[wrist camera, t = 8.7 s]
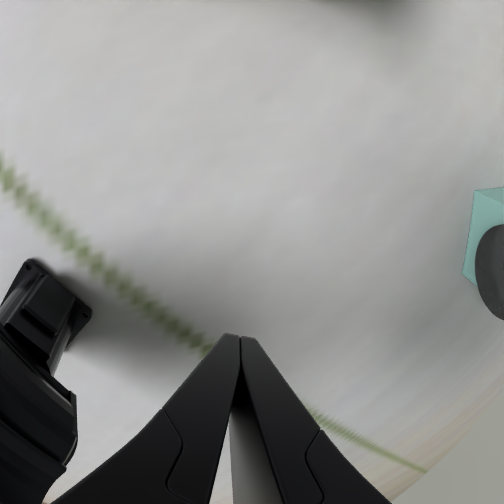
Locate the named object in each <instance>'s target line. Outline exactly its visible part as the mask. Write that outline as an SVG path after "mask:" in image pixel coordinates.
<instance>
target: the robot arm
mask: <svg viewBox="0 0 504 504" xmlns="http://www.w3.org/2000/svg"><path fill="white" fill-rule="evenodd" d="M28 264H29V265H30V266H31V268H30V267H29V266H28ZM84 312H86V313H87V314H88V315H86V314H85V313H84ZM92 315H93V312H92V310H91V309H90V308H89V307H88V306H87V305H85V304H84V303H83V302H82V301H80V300H79V299H78V298H77V297H75V296H74V295H73V294H72V293H71V292H69V291H68V290H67V289H66V288H64V287H63V286H62V285H61V284H60V283H59V282H57V281H56V280H55V279H54V278H53V277H52V276H50V275H49V274H48V273H47V272H46V271H45V270H44V269H42V268H41V267H40V266H39V265H38V264H37V263H36V262H35V261H34V260H32V259H27V260H26V261H25V262H24V263H23V265H22V267H21V269H20V270H19V272H18V274H17V276H16V277H15V279H14V281H13V283H12V285H11V286H10V288H9V290H8V292H7V294H6V296H5V298H4V300H3V302H2V303H1V305H0V504H41V503H42V501H43V499H44V497H45V495H46V493H47V492H48V490H49V488H50V487H51V486H52V485H53V483H54V482H55V481H56V479H58V478H59V477H60V476H61V475H62V474H63V473H65V472H66V469H67V468H66V465H67V464H68V463H69V461H70V460H71V458H72V457H73V455H74V452H75V450H76V447H77V442H78V431H77V405H76V395H75V394H74V393H73V392H71V391H68V390H67V389H66V388H65V387H64V386H63V385H62V384H60V383H59V382H58V381H57V380H56V379H55V378H54V377H53V376H54V374H55V371H56V369H57V366H58V364H59V361H60V359H61V356H62V354H63V352H64V349H65V348H66V347H67V346H68V344H69V343H70V342H71V341H72V340H73V339H74V337H75V336H76V335H77V334H78V333H79V332H80V331H81V329H82V328H83V327H84V326H85V325H86V324H87V323H88V321H89V320H90V319H91V317H92ZM228 421H229V435H230V454H231V472H232V488H233V504H392V503H391V502H389V501H388V500H387V499H386V498H385V497H384V496H383V495H382V494H381V493H380V492H379V491H378V490H377V489H376V488H375V487H374V486H373V485H372V484H371V483H369V482H368V481H367V480H366V479H365V478H364V477H363V476H362V475H361V474H360V473H359V472H358V471H357V470H356V469H355V467H354V466H353V465H352V464H351V463H350V462H349V461H348V460H347V459H346V458H345V457H344V456H343V455H342V453H341V452H340V451H339V450H338V449H337V447H336V446H335V445H334V444H333V442H332V441H331V440H330V439H329V437H328V436H327V435H326V434H325V432H324V431H323V430H320V426H319V425H318V424H317V422H316V421H315V420H314V418H313V417H312V416H311V414H310V413H309V412H308V410H307V409H306V408H305V406H304V405H303V404H302V402H301V401H300V400H299V398H298V397H297V396H296V394H295V393H294V392H293V390H292V389H291V387H290V386H289V385H288V383H287V382H286V381H285V379H284V378H283V376H282V375H281V374H280V372H279V371H278V369H277V368H276V367H275V365H274V364H273V362H272V361H271V360H270V358H269V357H268V355H267V354H266V353H265V351H264V350H263V348H262V347H261V346H260V344H259V343H258V341H257V340H256V339H255V338H251V337H245V336H241V337H240V338H239V336H238V335H233V334H228V333H225V334H223V335H222V337H221V338H220V339H219V340H218V341H217V343H216V344H215V345H214V346H213V348H212V349H211V350H210V351H209V352H208V354H207V355H206V356H205V357H204V358H203V360H202V361H201V362H200V363H199V364H198V366H197V367H196V368H195V369H194V370H193V372H192V373H191V374H190V375H189V376H188V378H187V379H186V380H185V381H184V382H183V384H182V385H181V386H180V387H179V388H178V389H177V391H176V392H175V393H174V394H173V395H172V397H171V398H170V399H169V400H168V401H167V402H166V404H165V405H164V406H163V407H162V409H160V410H159V411H158V412H157V413H156V415H155V416H154V417H153V418H152V419H151V420H150V421H149V422H148V424H147V425H146V426H145V427H144V428H143V429H142V430H141V431H140V432H139V433H138V434H137V435H136V436H135V437H134V438H133V439H131V440H130V441H129V442H128V443H127V444H126V445H125V446H124V447H122V448H121V449H120V450H119V451H118V452H116V453H115V454H114V455H113V456H112V457H110V458H109V459H108V460H107V461H105V462H104V463H103V464H102V465H100V466H99V467H98V468H97V469H95V470H94V471H93V472H91V473H90V474H89V475H88V476H86V477H85V478H84V479H82V480H81V481H80V482H79V483H77V484H76V485H75V486H73V487H72V488H71V489H69V490H68V491H67V492H65V493H64V494H63V495H61V496H60V497H59V498H57V499H56V500H55V501H53V502H52V503H51V504H209V502H210V498H211V494H212V490H213V485H214V481H215V477H216V473H217V468H218V464H219V460H220V456H221V451H222V447H223V443H224V438H225V434H226V430H227V425H228Z"/></svg>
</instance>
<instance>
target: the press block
mask: <svg viewBox="0 0 504 504" xmlns="http://www.w3.org/2000/svg"><path fill="white" fill-rule="evenodd" d="M501 224H504V187H503V188H493V189H483V190H475V191H474V201H473V210H472V218H471V225H470V232H469V238H468V244H467V250H466V255H465V260H464V265H463V270H462V274H463V275H464V276H465V277H467V278H468V279H469V280H470V281H471V282H472V283H474V284H475V285H476V286H477V282H476V276H475V255H476V250H477V247H478V244H479V241H480V239H481V238H482V236H483V235H484V233H485V232H486V231H487V230H489V229H490V228H492V227H493V226H497V225H501ZM477 287H478V286H477Z"/></svg>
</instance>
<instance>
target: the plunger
mask: <svg viewBox="0 0 504 504" xmlns="http://www.w3.org/2000/svg"><path fill="white" fill-rule="evenodd" d="M475 276H476V282H477V286H478V289H479V292H480V295H481V297H482V299H483V301H484V303H485V305H486V306H487V307H488V309H489V310H490V311H491V312H492V313H493V314H494V315H495V316H497V317H498V318H500V319H502V320H504V224H501V225H497V226H493V227H492V228H490V229H489V230H487V231H486V232H485V233H484V235H483V236H482V238H481V239H480V241H479V244H478V247H477V250H476V255H475Z"/></svg>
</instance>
